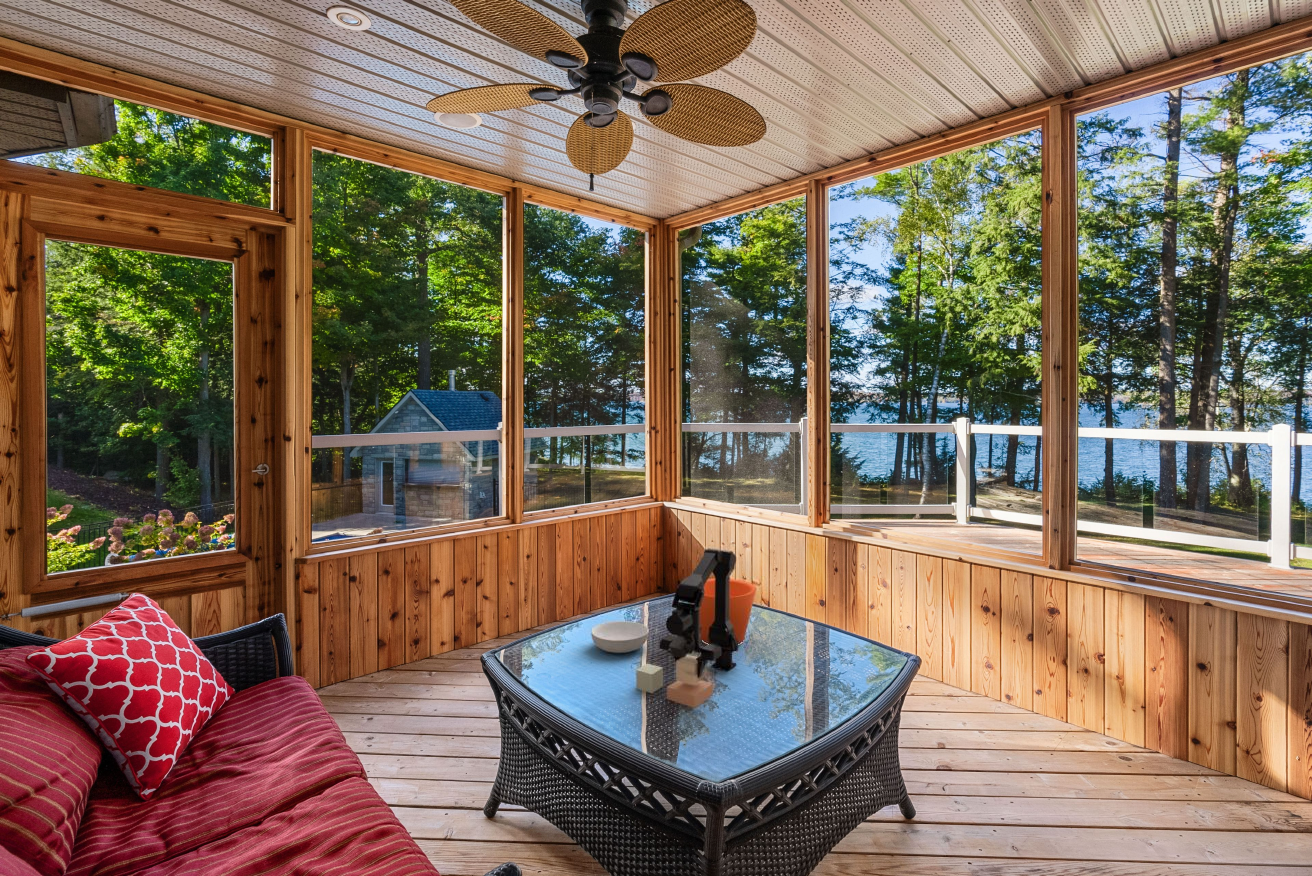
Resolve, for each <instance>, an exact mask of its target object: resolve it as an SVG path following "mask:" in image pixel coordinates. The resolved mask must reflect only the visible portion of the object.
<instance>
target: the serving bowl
mask: <svg viewBox="0 0 1312 876" xmlns="http://www.w3.org/2000/svg"><path fill="white" fill-rule="evenodd" d="M649 631H650V629H649V627H648V626H646V625H645V624H642V623H639V622H636V621H628V620H625V621H624V620H615V621H614V620H613V621H607V622H603V623H599V624H596V625H595V626H593V628H591V630H590V633H591V634H590V635H591V639H592V642H593V644H595V646H596V647H598V648H599V649H600V650H602V651H605V652H609V653H613V654H615V653H616V654H622V653H623V654H624V653H629V652H632V651H636V650H638V649H639V648H642V647H643V645H644V644H645V643H646V642H647V640H648V637H649V634H650V633H649Z"/></svg>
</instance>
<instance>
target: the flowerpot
mask: <svg viewBox="0 0 1312 876" xmlns="http://www.w3.org/2000/svg"><path fill="white" fill-rule="evenodd" d="M756 590H757V587H756V586H755V585H754V584H752V583H751V582H748V581H745V580H741V579H734V578H730V582H729V620H730V622H731V624H732V625H733V627H734V635H735V636H736V638H737V640H738V642H739V643H738V644H740V643H741V642H743V640H744V641H745V637H746V634H747V633H746V632H747V629H748V626H749V622H750V621H749V620H750V617H751V611H752V608H753V604H754V600H755V599H754V598H755V595H756ZM704 591H705V593H704V597H703V600H702V603H701V604H702V606H701V607H700V626H702V630H700V640H703V641H704V642H706V643H708V644H709V640H708V634H709V627H710V626H711V625H712V623H713V622H714V620H715V578H708V580H707V581H706V583H705V585H704ZM743 643H744V642H743ZM740 645H741V644H740Z"/></svg>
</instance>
